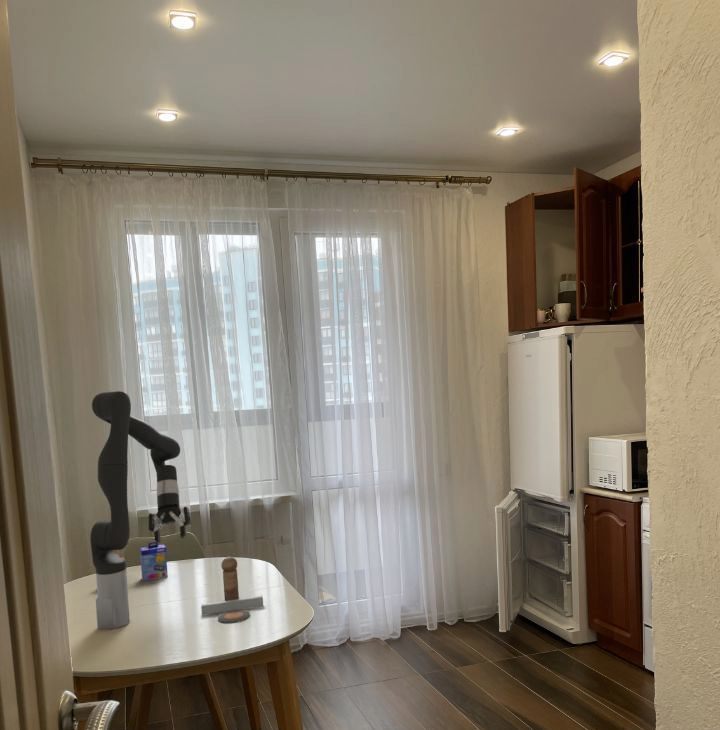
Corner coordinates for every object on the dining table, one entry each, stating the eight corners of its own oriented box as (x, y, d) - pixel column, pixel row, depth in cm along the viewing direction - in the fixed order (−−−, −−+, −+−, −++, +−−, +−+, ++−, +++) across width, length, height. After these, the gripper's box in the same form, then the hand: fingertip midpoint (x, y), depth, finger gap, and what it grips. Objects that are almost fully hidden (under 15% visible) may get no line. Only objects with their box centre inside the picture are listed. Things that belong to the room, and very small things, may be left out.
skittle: (235, 605, 226) (232, 559, 227) (221, 605, 228) (217, 559, 228) (242, 600, 232) (239, 554, 232) (228, 600, 233) (225, 554, 233)
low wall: (263, 604, 225) (262, 595, 225) (263, 606, 224) (262, 597, 224) (201, 613, 221) (201, 604, 221) (201, 615, 219) (201, 605, 219)
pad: (240, 623, 209) (240, 621, 209) (212, 622, 212) (212, 620, 212) (255, 612, 218) (254, 610, 218) (227, 611, 221) (227, 609, 221)
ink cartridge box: (142, 581, 264) (140, 544, 265) (141, 578, 269) (138, 542, 270) (168, 577, 269) (166, 540, 269) (166, 573, 274) (164, 538, 274)
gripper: (144, 496, 237) (146, 542, 230) (183, 488, 237) (187, 534, 230) (152, 500, 244) (154, 545, 237) (190, 493, 243) (194, 538, 237)
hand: (170, 540), depth 234 cm, fingers open, 8 cm apart
